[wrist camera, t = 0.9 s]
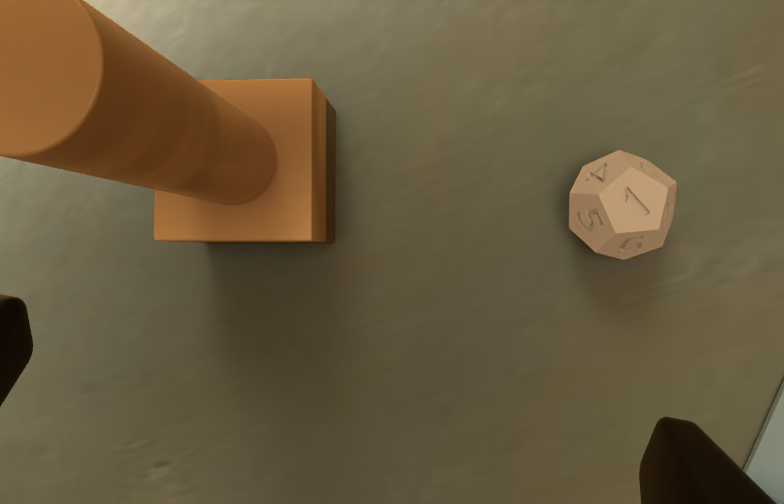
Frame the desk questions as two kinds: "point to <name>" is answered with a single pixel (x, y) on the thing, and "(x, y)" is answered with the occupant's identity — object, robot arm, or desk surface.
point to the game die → (622, 205)
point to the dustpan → (770, 452)
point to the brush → (166, 128)
